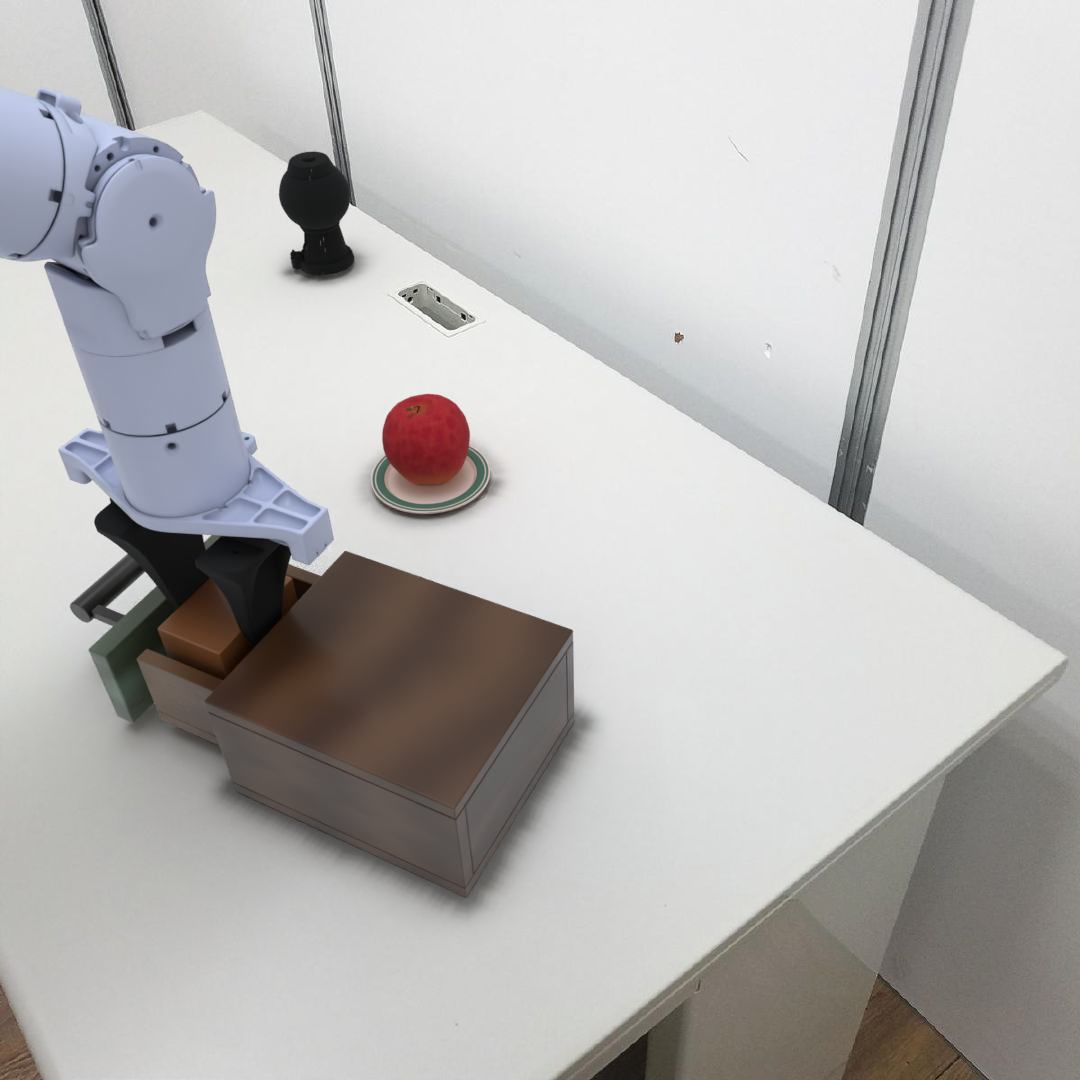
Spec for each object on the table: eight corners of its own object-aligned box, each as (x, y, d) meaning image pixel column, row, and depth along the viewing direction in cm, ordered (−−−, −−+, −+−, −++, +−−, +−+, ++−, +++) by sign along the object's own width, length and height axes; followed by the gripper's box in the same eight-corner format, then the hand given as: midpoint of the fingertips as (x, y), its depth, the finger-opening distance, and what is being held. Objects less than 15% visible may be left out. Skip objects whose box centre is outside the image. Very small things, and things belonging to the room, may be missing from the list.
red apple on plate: (364, 520, 72) (350, 439, 68) (379, 445, 78) (366, 367, 74) (487, 518, 72) (481, 436, 68) (492, 443, 78) (487, 364, 74)
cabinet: (235, 791, 57) (202, 700, 52) (362, 640, 64) (344, 549, 59) (466, 898, 52) (454, 809, 47) (574, 721, 59) (573, 629, 55)
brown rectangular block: (229, 686, 56) (218, 653, 54) (168, 660, 57) (156, 628, 56) (300, 609, 60) (292, 577, 58) (241, 587, 61) (232, 555, 60)
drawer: (55, 688, 61) (22, 621, 57) (181, 570, 68) (159, 504, 64) (307, 803, 55) (288, 735, 51) (418, 661, 62) (408, 592, 58)
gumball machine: (289, 253, 100) (267, 144, 93) (354, 243, 101) (338, 135, 94) (297, 289, 95) (275, 176, 88) (365, 278, 96) (349, 166, 90)
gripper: (352, 390, 49) (389, 609, 58) (104, 319, 54) (174, 530, 63) (252, 482, 44) (309, 704, 53) (-10, 395, 49) (83, 610, 58)
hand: (230, 616), depth 58 cm, fingers closed on brown rectangular block, 4 cm apart
